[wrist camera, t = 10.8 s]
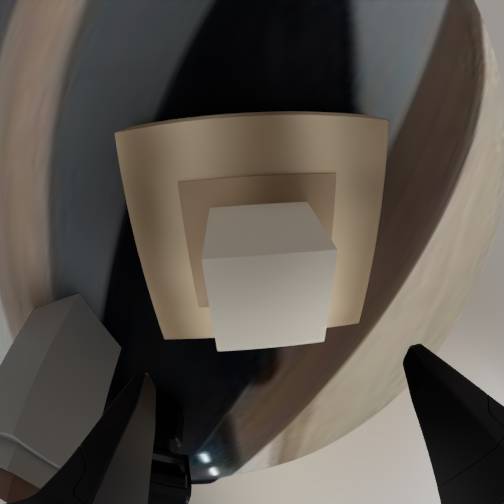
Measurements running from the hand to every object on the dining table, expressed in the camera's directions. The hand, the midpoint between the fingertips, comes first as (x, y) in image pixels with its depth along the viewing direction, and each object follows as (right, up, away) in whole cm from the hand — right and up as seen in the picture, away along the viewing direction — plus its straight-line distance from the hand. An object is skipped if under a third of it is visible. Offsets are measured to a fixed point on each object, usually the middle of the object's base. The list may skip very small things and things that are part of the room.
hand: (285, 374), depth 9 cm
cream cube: (-1, +4, +7) cm, 9 cm away
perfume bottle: (-17, -3, +14) cm, 23 cm away
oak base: (-1, +6, +10) cm, 12 cm away
